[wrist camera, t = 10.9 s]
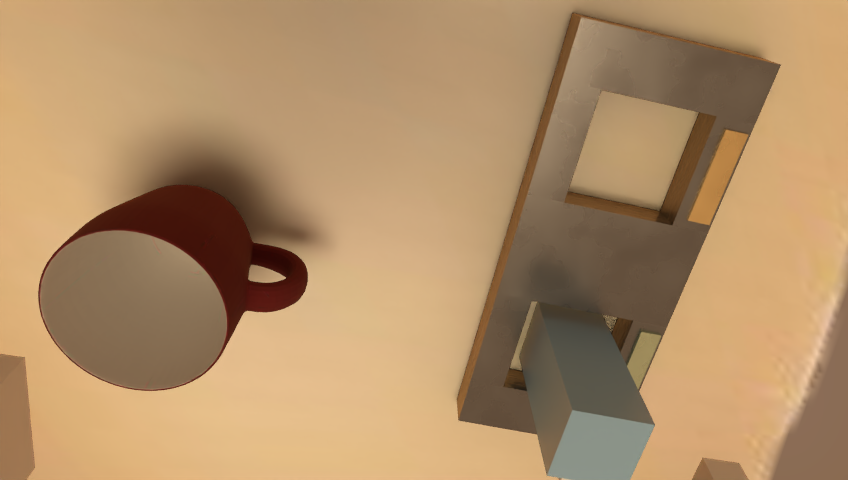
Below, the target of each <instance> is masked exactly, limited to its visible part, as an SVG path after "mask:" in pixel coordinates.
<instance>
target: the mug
mask: <svg viewBox="0 0 848 480" xmlns="http://www.w3.org/2000/svg"><path fill="white" fill-rule="evenodd" d="M252 264H253V265H258V266H262V267H265V268H268V269H271V270H273V271H276V272H278V273H280V274H282V275H283V276H285V277H286V279H284V280H281V281H278V282H273V283H260V282H253V281H249V280H248V274H249V268H250V266H251V265H252ZM307 282H308V272H307V269H306V266H305V264H304V262H303V261H302V260H301V259H300V258H299V257H298V256H297V255H295V254H294V253H292V252H290V251H288V250H285V249H282V248H278V247H274V246H269V245H263V244H257V243H253V242H252V240H251V237H250V234H249V232H248V229H247V227H246V225H245V222H244V221H243V219H242V217H241V215H240V214H239V212H238V211H237V210H236V209H235V207H234V206H233V205H232V204H231V203H230V202H229V201H228V200H226V199H225V198H224V197H222V196H221V195H219V194H217V193H215V192H213V191H211V190H208V189H205V188H202V187H198V186H192V185H172V186H166V187H162V188H158V189H156V190H153V191H150V192H148V193H146V194H143V195H141V196H139V197H136V198H134V199H132V200H130V201H127V202H125V203H123V204H120V205H118V206H116V207H114V208H111V209H109V210H107V211H106V212H104V213H102V214H100V215H98V216H97V217H95V218H94V219H92V220H91V221H89V222H88V223H87V224H85V225H84V226H83V227H82V228H81V229H79V230H78V231H77V232H76V233H75V234H74V235H73V236H71V237H70V238H69V239H68V240H67V241H66V242H65V243H64V244H63V245H62V246H61V247H60V248H59V249H58V250H57V251H56V252H55V253H54V254H53V255H52V257H51V258H50V260H49V261H48V262H47V264H46V266H45V268H44V270H43V273H42V276H41V279H40V283H39V291H38V298H39V308H40V312H41V316H42V319H43V322H44V324H45V327H46V329H47V331H48V333H49V334H50V336H51V338H52V339H53V341H54V342H55V343H56V345H57V346H58V347H59V349H60V350H61V351H62V352H63V353H64V354H65V355H66V356H67V357H68V358H69V359H70V360H71V361H72V362H74V363H75V364H76V365H77V366H79V367H80V368H81V369H83V370H84V371H86V372H87V373H89V374H91V375H92V376H94V377H96V378H98V379H100V380H103V381H105V382H108V383H110V384H113V385H116V386H120V387H124V388H128V389H134V390H143V391H157V390H166V389H172V388H176V387H179V386H182V385H185V384H188V383H190V382H192V381H194V380H196V379H197V378H199V377H201V376H202V375H203V374H205V373H206V372H207V371H208V370H209V369H210V368H211V367H212V366H213V365H214V364H215V363H216V362H217V360H218V359H219V357H220V356H221V354H222V353H223V351H224V349H225V347H226V345H227V343H228V341H229V340H230V338H231V336H232V334H233V332H234V330H235V328H236V326H237V324H238V322H239V320H240V318H241V317H242V315H243V313H244V312H245V311H254V312H273V311H278V310H281V309H284V308H286V307H289V306H290V305H292V304H294V303H296V302H297V301H298V300H299V299H300V298H301V296H302V295H303V293H304V292H305V289H306V286H307Z"/></svg>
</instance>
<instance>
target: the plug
mask: <svg viewBox="0 0 848 480" xmlns="http://www.w3.org/2000/svg"><path fill="white" fill-rule="evenodd" d="M519 358H520V362H521V367H522V371H523V375H524V379H525V384H526V388H527V392H528V397H529V401H530V405H531V410H532V414H533V418H534V422H535V427H536V431H537V435H538V440H539V444H540V448H541V453H542V457H543V461H544V465H545V470H546V474H547V476H552V477H558V478H559V480H630V479H631V476H632V474H633V472H634V470H635V468H636V466H637V463H638V461H639V459H640V457H641V455H642V452H643V450H644V448H645V446H646V444H647V442H648V439H649V437H650V435H651V433H652V431H653V428H654V426H655V424H654V422H653V420H652V418H651V416H650V413H649V411H648V409H647V407H646V405H645V403H644V401H643V399H642V397H641V395H640V393H639V390H638V388H637V386H636V384H635V382H634V380H633V378H632V376H631V374H630V372H629V370H628V367H627V365H626V363H625V361H624V359H623V357H622V355H621V353H620V351H619V349H618V347H617V344H616V342H615V340H614V338H613V336H612V334H611V332H610V330H609V328H608V326H607V324H606V321H605V319H604V317H603V315H602V314H597V313H592V312H587V311H582V310H577V309H572V308H567V307H562V306H557V305H551V304H546V303H541V302H537V305H536V308H535V311H534V314H533V317H532V320H531V323H530V326H529V329H528V332H527V335H526V338H525V341H524V344H523V347H522V350H521V353H520V356H519Z"/></svg>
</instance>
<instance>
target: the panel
mask: <svg viewBox="0 0 848 480" xmlns="http://www.w3.org/2000/svg"><path fill="white" fill-rule="evenodd" d="M780 66H781V65H780V64H777V63H774V62H771V61H769V60H766V59H763V58H760V57H755V56H751V55H747V54H743V53H739V52H734V51H730V50H726V49H722V48H718V47H714V46H709V45H705V44H701V43H697V42H693V41H688V40H684V39H680V38H676V37H672V36H668V35H663V34H659V33H655V32H651V31H647V30H642V29H638V28H634V27H630V26H626V25H621V24H617V23H613V22H609V21H605V20H601V19H596V18H592V17H588V16H584V15H580V14H575V13H572V16H571V20H570V23H569V26H568V30H567V33H566V36H565V40H564V43H563V46H562V50H561V53H560V56H559V60H558V63H557V66H556V70H555V73H554V77H553V80H552V83H551V87H550V90H549V93H548V97H547V100H546V103H545V107H544V110H543V113H542V117H541V120H540V123H539V127H538V130H537V133H536V137H535V140H534V143H533V147H532V150H531V153H530V157H529V160H528V163H527V167H526V170H525V173H524V177H523V180H522V184H521V187H520V190H519V194H518V197H517V200H516V204H515V207H514V210H513V214H512V217H511V220H510V224H509V227H508V230H507V234H506V237H505V240H504V244H503V247H502V250H501V254H500V257H499V260H498V264H497V267H496V270H495V274H494V277H493V280H492V284H491V287H490V291H489V294H488V297H487V301H486V304H485V307H484V311H483V314H482V317H481V321H480V324H479V327H478V331H477V334H476V337H475V341H474V344H473V347H472V351H471V354H470V357H469V361H468V364H467V367H466V371H465V374H464V377H463V381H462V384H461V387H460V391H459V394H458V397H457V409H458V420H459V421H465V422H470V423H476V424H482V425H487V426H493V427H498V428H504V429H510V430H515V431H521V432H527V433H532V434H537V431H536V427H535V422H534V418H533V414H532V410H531V405H530V401H529V397H528V392H527V388H526V384H525V379H524V375H523V371H518V370H513V369H509V368H510V364H511V361H512V358H513V355H514V352H515V349H516V346H517V343H518V340H519V337H520V334H521V331H522V328H523V325H524V322H525V319H526V316H527V313H528V310H529V307H530V304H531V301H536V302H541V303H546V304H551V305H557V306H562V307H567V308H572V309H577V310H582V311H587V312H592V313H597V314H602V315H607V316H613V317H618V319H617V322H616V324H615V327H614V329H613V332H612V336H613V338H614V340H615V342H616V344H617V347H618V349H619V351H620V353H621V355H622V357H623V359H624V361H625V363H626V365H627V367H628V370H629V372H630V374H631V376H632V378H633V380H634V382H635V384H636V386H637V388H638V390H640V388H641V386H642V383H643V381H644V379H645V376H646V374H647V372H648V369H649V367H650V365H651V362H652V360H653V358H654V356H655V353H656V351H657V349H658V346H659V344H660V342H661V339H662V337H663V335H664V333H665V330H666V328H667V326H668V323H669V321H670V319H671V316H672V314H673V312H674V310H675V307H676V305H677V303H678V300H679V298H680V296H681V293H682V291H683V289H684V287H685V284H686V282H687V280H688V277H689V275H690V273H691V270H692V268H693V266H694V264H695V261H696V259H697V257H698V254H699V252H700V250H701V247H702V245H703V243H704V241H705V238H706V236H707V234H708V231H709V229H710V227H711V224H712V222H713V220H714V217H715V215H716V213H717V211H718V208H719V206H720V204H721V201H722V199H723V197H724V194H725V192H726V190H727V188H728V185H729V183H730V181H731V178H732V176H733V174H734V171H735V169H736V167H737V165H738V162H739V160H740V158H741V155H742V153H743V151H744V148H745V146H746V144H747V142H748V139H749V137H750V135H751V132H752V130H753V128H754V125H755V123H756V121H757V119H758V116H759V114H760V112H761V109H762V107H763V105H764V102H765V100H766V98H767V95H768V93H769V91H770V89H771V86H772V84H773V82H774V79H775V77H776V75H777V72H778V70H779V68H780ZM601 90H604V91H609V92H613V93H617V94H622V95H626V96H630V97H635V98H639V99H644V100H648V101H652V102H657V103H661V104H665V105H670V106H674V107H679V108H683V109H687V110H692V111H696V112H699V115H698V117H697V120H696V122H695V125H694V127H693V130H692V132H691V135H690V137H689V140H688V143H687V145H686V148H685V150H684V153H683V155H682V158H681V160H680V163H679V165H678V168H677V170H676V173H675V175H674V178H673V180H672V183H671V185H670V188H669V190H668V193H667V195H666V198H665V201H664V203H663V206H662V208H661V211H656V210H652V209H647V208H642V207H638V206H633V205H628V204H624V203H619V202H614V201H609V200H605V199H600V198H595V197H591V196H586V195H581V194H577V193H572V192H568V189H569V186H570V183H571V180H572V177H573V174H574V171H575V168H576V165H577V162H578V159H579V156H580V153H581V150H582V147H583V144H584V141H585V138H586V135H587V132H588V129H589V126H590V123H591V120H592V117H593V114H594V111H595V108H596V105H597V102H598V99H599V96H600V93H601Z"/></svg>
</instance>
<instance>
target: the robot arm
mask: <svg viewBox="0 0 848 480" xmlns="http://www.w3.org/2000/svg"><path fill="white" fill-rule="evenodd" d="M34 468H35V463H34V452H33V441H32V431H31V420H30V409H29V398H28V388H27V377H26V366H25V357H18V356H11V355H5V354H0V480H27V478H28V477H29V475H30V474H31V472H32V471H33V470H34ZM692 480H748V478H747V476H746V475H745V473H744V471H743V469H742V467H741V466H740V464H739V463H735V462H728V461H721V460H715V459H708V458H702V460H701V462H700V464H699V466H698V468H697V470H696V472H695V474H694V476H693V478H692Z"/></svg>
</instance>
